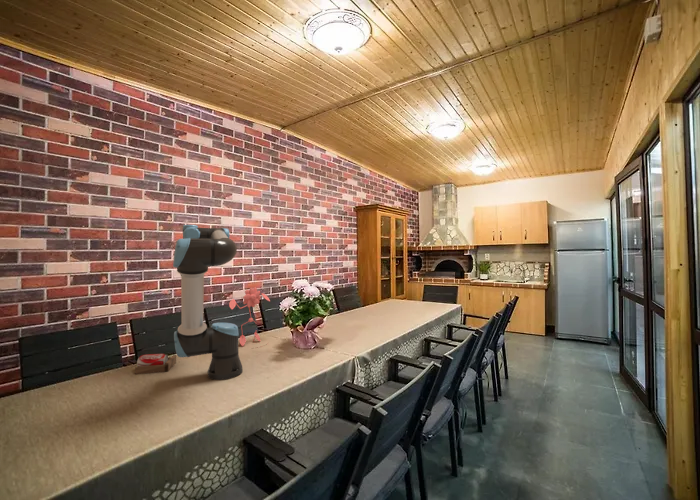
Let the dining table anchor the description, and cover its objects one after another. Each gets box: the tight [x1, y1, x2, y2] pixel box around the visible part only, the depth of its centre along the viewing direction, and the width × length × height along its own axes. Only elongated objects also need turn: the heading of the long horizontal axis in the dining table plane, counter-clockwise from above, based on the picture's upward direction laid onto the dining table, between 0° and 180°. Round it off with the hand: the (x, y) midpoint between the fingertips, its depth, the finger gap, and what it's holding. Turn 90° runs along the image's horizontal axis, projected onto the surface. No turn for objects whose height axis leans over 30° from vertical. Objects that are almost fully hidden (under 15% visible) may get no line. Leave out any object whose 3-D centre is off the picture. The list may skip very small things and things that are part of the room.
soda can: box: [136, 353, 169, 367], centre depth 157 cm, size 7×7×12 cm
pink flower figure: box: [228, 286, 271, 349], centre depth 195 cm, size 15×26×35 cm, turn 138°
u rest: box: [134, 354, 177, 375], centre depth 157 cm, size 12×14×4 cm
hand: (190, 296), depth 174 cm, fingers closed
